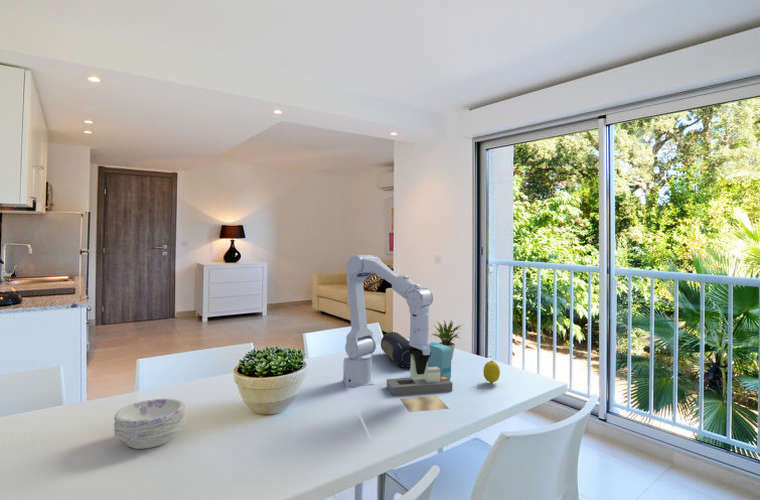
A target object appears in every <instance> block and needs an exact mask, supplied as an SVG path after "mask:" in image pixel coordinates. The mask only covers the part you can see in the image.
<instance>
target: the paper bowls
mask: <svg viewBox="0 0 760 500" xmlns="http://www.w3.org/2000/svg"><path fill="white" fill-rule="evenodd" d="M185 405H186V404H185V403H184V402H183V401H181V400H178V399H176V398H175V399H174V398H156V399H148V400H142V401H139V402H135V403H132V404H129V405H127V406H124V407H122V408H120V409H119V410H117V411H116V413H115V414H114V424H113V425H114V426H113V427H114V428H113V431H114V432H113V433H114V438H116V439H118V440H119V441H122V442H124V443H125V444H126V445H127V446H128V447H129V448H132V449H137V450H142V449H143V450H144V449H145V448H146V449H152V448H157V447H159V446H162V445H164V444H166V443H168V442H169V441H171V440H172V439H173V438H174V437H175V435H176V432H178V431H180V430H181V429H182V428H183V427H184V426H185V422H186V421H185V419H186V418H185V417H186V414H185V413H186V412H185V408H186V406H185ZM146 449H145V450H146Z"/></svg>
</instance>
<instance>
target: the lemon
mask: <svg viewBox="0 0 760 500" xmlns="http://www.w3.org/2000/svg"><path fill="white" fill-rule="evenodd" d="M482 371H483V378H484V379H485V380H486V381H487V382H489V383H490V384H494V383H495V382H497V381H498V380H499V378H500V375H501V370H500V366H499V365H498V363H497V362H495V361H494V360H492V359H491V360H490V361H486V363H484V366H483V370H482Z"/></svg>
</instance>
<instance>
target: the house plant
mask: <svg viewBox="0 0 760 500" xmlns="http://www.w3.org/2000/svg"><path fill="white" fill-rule="evenodd" d="M443 322H444V324H441V322H439V321H437V324H438V327H437V326H436V325H434V324H433V327H434V328H435V329H436V330H437V332H438V333H439V334H436V333H433V334H431V336H436V337H438V338H439V339H440V340H441V341H440V342H438V343H439V344H442V345H446V346H449V347H450V349H451V361H452V360H453V357H454V353H455V347H456V343H455V342H453V341H454V340H455V338H456V339H460V340H461V338H460V337H461V336H459V334H460V332H457V333H455V332H456V331H457V330H459V329H460V328H462V327H463V326H464V325H465V324H459V325H457V326H455V327H454V328H453V325H454V321H453V320H452V319H451V320H450V322H449V324H448V326H447V323H446V320H445V319H443ZM452 328H453V329H452Z"/></svg>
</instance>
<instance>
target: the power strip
mask: <svg viewBox="0 0 760 500" xmlns="http://www.w3.org/2000/svg"><path fill="white" fill-rule="evenodd" d="M386 388H387V390H388V391H389V393H390V394H391V395H392V396H393V397H395V396H407V395H420V394H433V393H444V392H446V393H447V392H453V382H452V381H451V379H450V380H448V379H447V378H446V377H445V376H444V375H440V382H430V383H426V382H425V381H424V379H418V380H413V379H412V378H411V377H400V378H399V377H397V378H387V379H386Z"/></svg>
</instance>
